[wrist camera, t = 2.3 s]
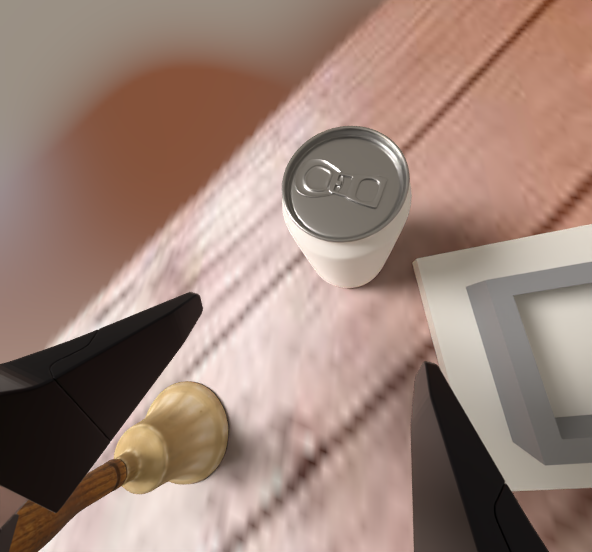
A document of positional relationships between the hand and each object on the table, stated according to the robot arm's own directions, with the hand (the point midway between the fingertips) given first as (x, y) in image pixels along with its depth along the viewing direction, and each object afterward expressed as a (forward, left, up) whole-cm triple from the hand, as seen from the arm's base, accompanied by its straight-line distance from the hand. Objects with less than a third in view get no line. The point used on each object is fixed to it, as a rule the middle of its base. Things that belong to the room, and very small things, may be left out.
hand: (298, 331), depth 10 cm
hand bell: (-14, -7, -13) cm, 20 cm away
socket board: (+16, -4, -13) cm, 21 cm away
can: (+3, +6, -13) cm, 15 cm away
